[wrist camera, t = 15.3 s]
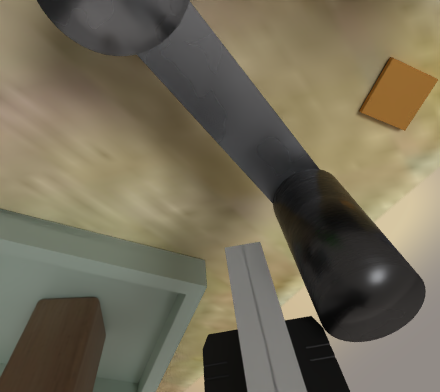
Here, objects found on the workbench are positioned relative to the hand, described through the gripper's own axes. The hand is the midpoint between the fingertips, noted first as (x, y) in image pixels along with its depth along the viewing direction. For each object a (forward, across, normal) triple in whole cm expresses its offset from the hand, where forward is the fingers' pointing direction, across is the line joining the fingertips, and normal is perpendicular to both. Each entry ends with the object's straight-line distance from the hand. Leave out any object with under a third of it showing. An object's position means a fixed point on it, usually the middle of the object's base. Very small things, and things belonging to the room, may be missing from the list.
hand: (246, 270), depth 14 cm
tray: (+8, -12, -8) cm, 16 cm away
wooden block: (+7, -12, -8) cm, 16 cm away
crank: (+3, 0, +7) cm, 8 cm away
